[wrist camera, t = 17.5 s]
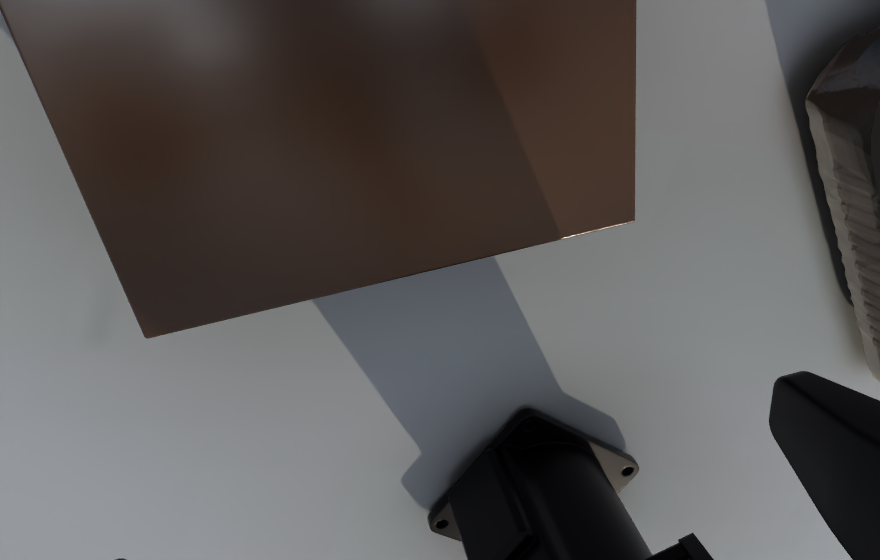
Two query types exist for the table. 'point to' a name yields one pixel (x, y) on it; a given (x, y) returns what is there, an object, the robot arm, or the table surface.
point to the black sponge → (853, 172)
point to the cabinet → (330, 137)
